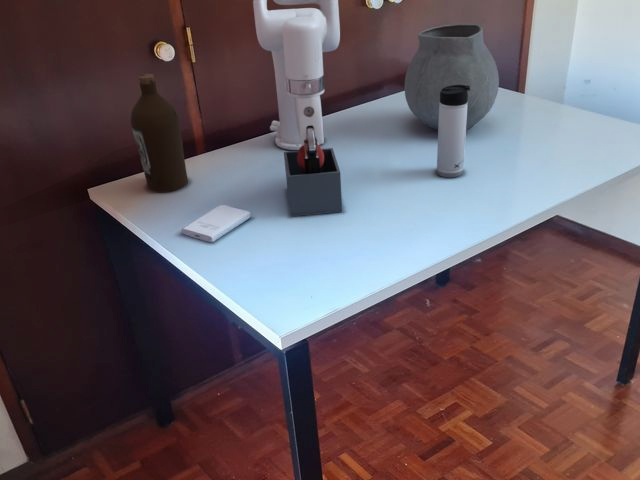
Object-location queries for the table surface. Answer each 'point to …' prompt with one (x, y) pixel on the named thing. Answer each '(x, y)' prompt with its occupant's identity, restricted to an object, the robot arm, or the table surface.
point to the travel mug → (452, 130)
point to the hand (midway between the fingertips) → (311, 168)
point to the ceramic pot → (451, 72)
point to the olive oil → (158, 139)
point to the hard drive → (216, 223)
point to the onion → (302, 155)
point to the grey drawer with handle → (313, 186)
